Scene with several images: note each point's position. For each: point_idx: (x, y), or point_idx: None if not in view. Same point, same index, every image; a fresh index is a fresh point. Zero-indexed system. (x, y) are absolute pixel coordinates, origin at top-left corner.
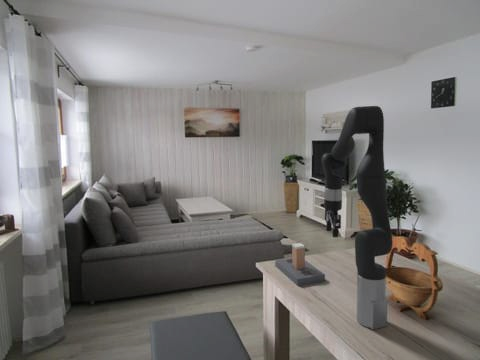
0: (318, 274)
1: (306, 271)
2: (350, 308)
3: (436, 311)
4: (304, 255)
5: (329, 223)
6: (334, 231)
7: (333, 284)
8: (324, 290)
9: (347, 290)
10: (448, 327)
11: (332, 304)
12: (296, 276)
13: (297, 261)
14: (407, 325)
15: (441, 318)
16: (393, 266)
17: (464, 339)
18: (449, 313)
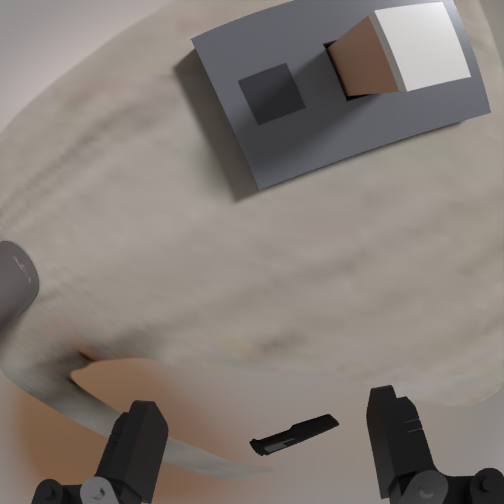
0: (256, 155)
1: (294, 94)
2: (51, 238)
3: (106, 407)
4: (374, 91)
5: (386, 488)
6: (109, 456)
7: (219, 213)
8: (156, 165)
9: (168, 258)
10: (57, 392)
11: (59, 184)
12: (226, 35)
13: (343, 43)
14: (31, 337)
15: (82, 400)
16: (331, 426)
17: (34, 390)
18: (107, 419)
